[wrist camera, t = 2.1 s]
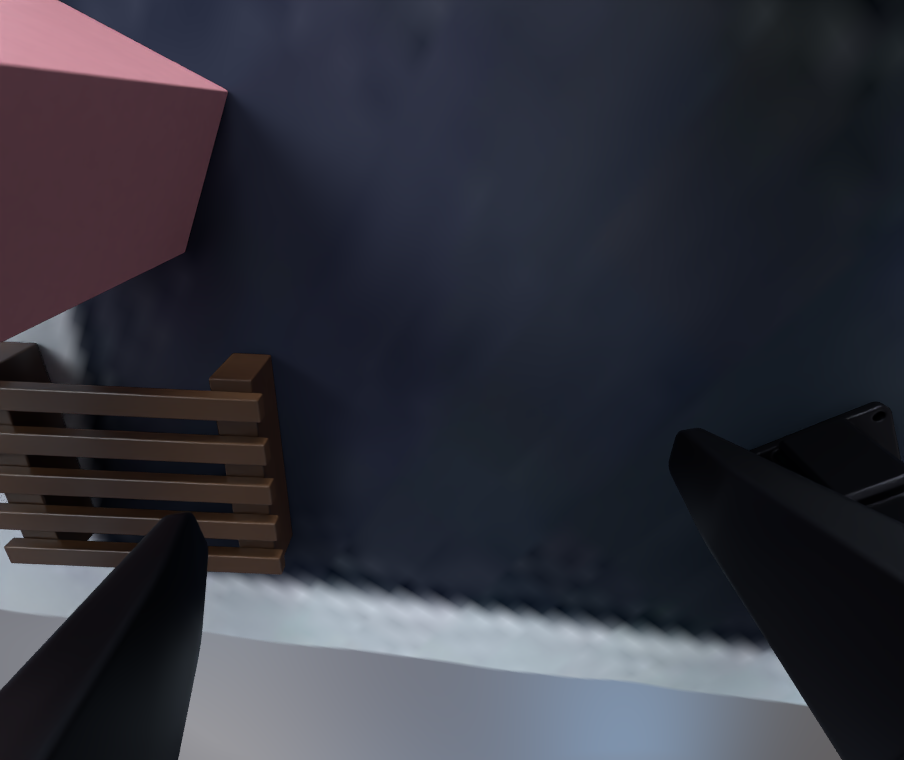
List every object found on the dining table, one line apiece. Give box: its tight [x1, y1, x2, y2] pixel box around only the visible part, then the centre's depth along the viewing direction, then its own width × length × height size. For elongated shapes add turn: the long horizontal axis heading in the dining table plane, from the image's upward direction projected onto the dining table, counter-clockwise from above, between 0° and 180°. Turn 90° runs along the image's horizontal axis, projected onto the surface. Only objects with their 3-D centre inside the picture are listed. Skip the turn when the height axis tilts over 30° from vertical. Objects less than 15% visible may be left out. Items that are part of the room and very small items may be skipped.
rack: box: [0, 342, 292, 575], centre depth 22 cm, size 12×10×3 cm
